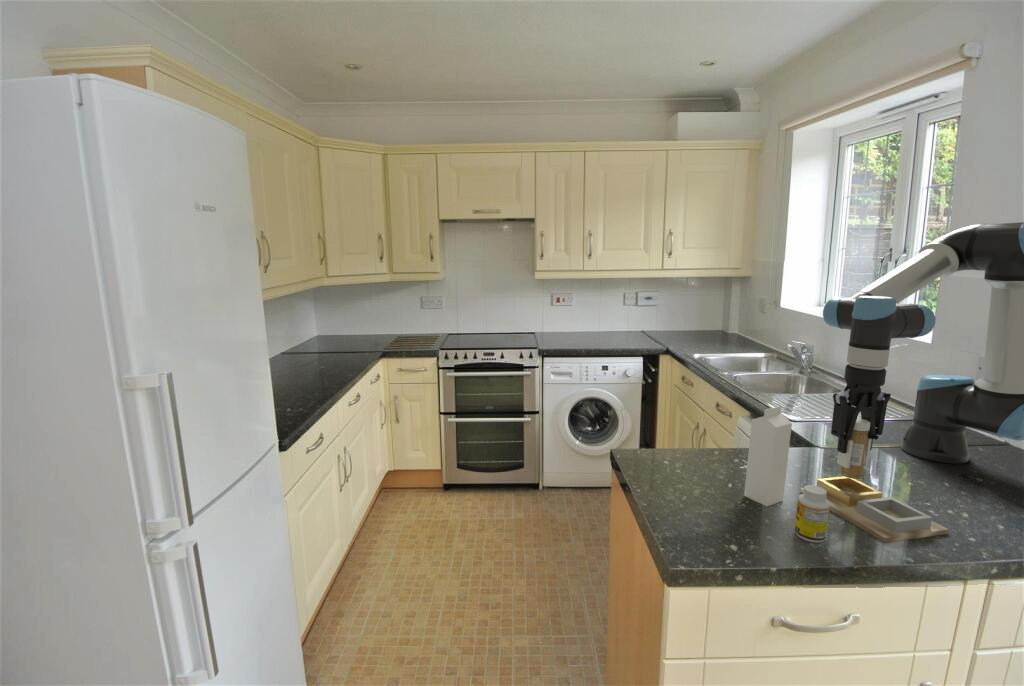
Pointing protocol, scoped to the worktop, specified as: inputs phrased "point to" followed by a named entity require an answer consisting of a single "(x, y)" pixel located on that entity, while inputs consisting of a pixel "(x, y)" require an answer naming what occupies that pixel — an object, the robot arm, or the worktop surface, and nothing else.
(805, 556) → the worktop surface
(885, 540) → the birch socket board
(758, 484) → the milk
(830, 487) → the brass socket collar
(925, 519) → the grey socket collar
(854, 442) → the sprinkles bottle
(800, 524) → the supplement bottle
